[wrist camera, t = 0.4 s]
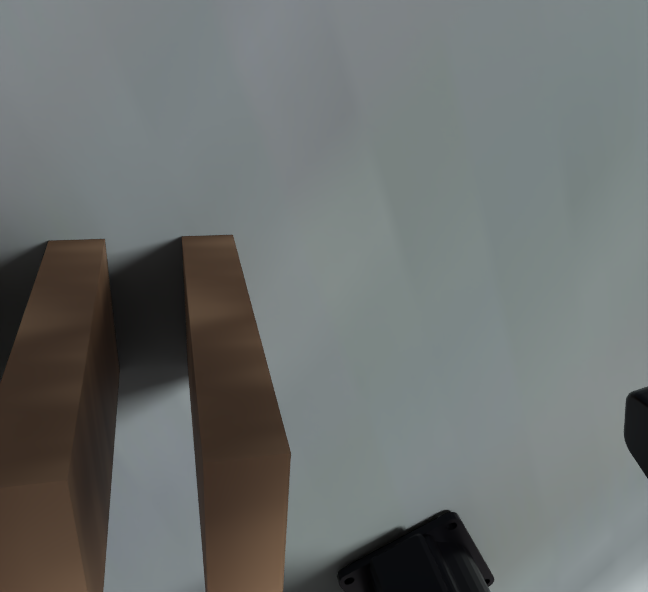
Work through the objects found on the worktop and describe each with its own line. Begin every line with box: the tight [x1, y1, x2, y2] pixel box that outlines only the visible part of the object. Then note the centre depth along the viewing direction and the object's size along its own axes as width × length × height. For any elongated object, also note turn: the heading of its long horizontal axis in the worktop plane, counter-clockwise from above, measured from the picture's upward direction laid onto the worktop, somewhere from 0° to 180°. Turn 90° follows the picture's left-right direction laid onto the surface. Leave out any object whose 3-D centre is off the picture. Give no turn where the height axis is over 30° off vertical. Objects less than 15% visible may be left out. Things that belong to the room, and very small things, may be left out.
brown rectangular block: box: [182, 235, 291, 592], centre depth 17 cm, size 2×5×10 cm, turn 176°
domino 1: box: [0, 239, 120, 592], centre depth 16 cm, size 2×5×10 cm, turn 175°
